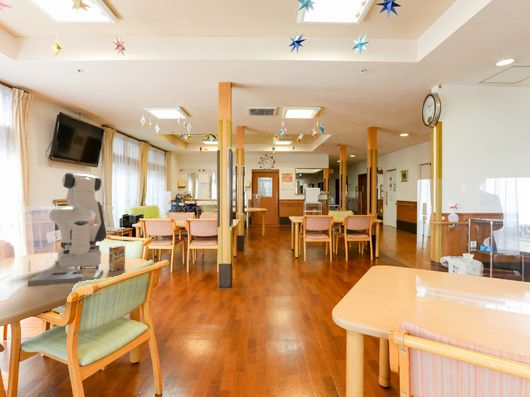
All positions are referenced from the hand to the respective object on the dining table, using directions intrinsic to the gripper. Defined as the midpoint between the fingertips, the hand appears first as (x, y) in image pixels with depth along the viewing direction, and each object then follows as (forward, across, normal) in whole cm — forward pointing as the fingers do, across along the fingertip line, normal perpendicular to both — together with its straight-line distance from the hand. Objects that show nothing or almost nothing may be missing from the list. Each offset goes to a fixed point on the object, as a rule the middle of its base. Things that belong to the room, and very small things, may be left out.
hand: (80, 273), depth 158 cm
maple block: (+1, -5, 0) cm, 5 cm away
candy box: (+4, -15, -21) cm, 26 cm away
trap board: (+4, +7, -4) cm, 9 cm away
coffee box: (+4, +1, -21) cm, 21 cm away
